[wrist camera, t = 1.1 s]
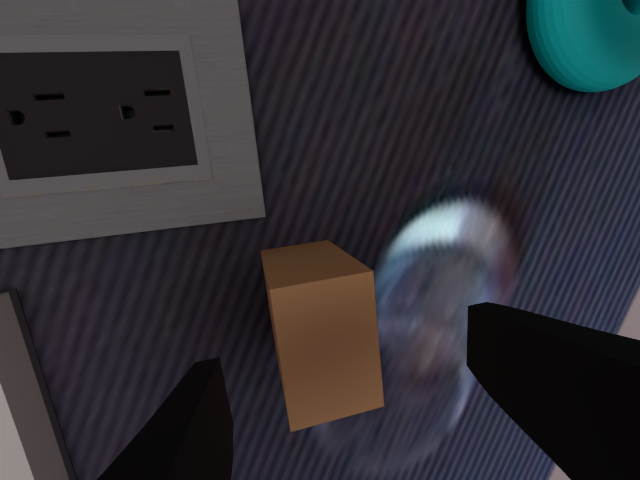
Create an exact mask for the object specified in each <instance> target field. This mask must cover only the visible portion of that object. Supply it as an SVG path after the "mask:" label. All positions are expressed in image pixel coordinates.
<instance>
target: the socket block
mask: <svg viewBox="0 0 640 480" xmlns="http://www.w3.org/2000/svg"><path fill="white" fill-rule="evenodd" d="M0 480H76V477H75V474H74V471H73V468H72V464H71V461H70V458H69V455H68V452H67V449H66V446H65V442H64V439H63V436H62V433H61V430H60V427H59V423H58V420H57V417H56V414H55V411H54V408H53V405H52V401H51V398H50V395H49V392H48V389H47V386H46V383H45V379H44V376H43V373H42V370H41V367H40V364H39V361H38V357H37V354H36V351H35V348H34V345H33V342H32V339H31V335H30V332H29V329H28V326H27V323H26V320H25V317H24V313H23V310H22V307H21V304H20V301H19V298H18V295H17V291H16V289H13V290H7V291H0Z"/></svg>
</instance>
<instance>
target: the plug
mask: <svg viewBox="0 0 640 480" xmlns="http://www.w3.org/2000/svg"><path fill="white" fill-rule="evenodd" d="M261 257H262V263H263V270H264V276H265V283H266V290H267V296H268V303H269V309H270V316H271V323H272V329H273V336H274V343H275V349H276V354H277V360H278V365H279V371H280V376H281V381H282V387H283V392H284V398H285V403H286V409H287V414H288V420H289V425H290V431H291V432H293V431H296V430H300V429H304V428H307V427H311V426H315V425H318V424H322V423H325V422H329V421H333V420H336V419H340V418H344V417H347V416H351V415H355V414H358V413H362V412H365V411H369V410H373V409H376V408H380V407H384V400H383V387H382V375H381V362H380V350H379V337H378V324H377V312H376V299H375V287H374V274H373V270H371V269H370V268H368V267H367V266H365V265H364V264H362V263H361V262H359V261H358V260H356V259H355V258H353V257H352V256H351V255H349V254H348V253H346V252H345V251H343V250H342V249H340V248H339V247H337V246H336V245H334V244H333V243H331V242H330V241H329V240H325V241H319V242H313V243H306V244H300V245H293V246H287V247H280V248H274V249H268V250H261Z"/></svg>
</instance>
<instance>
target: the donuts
mask: <svg viewBox="0 0 640 480" xmlns="http://www.w3.org/2000/svg"><path fill="white" fill-rule="evenodd" d="M526 23H527V31H528V36H529V40H530V44H531V47H532V50H533V52H534V55H535V57H536V59H537V61H538V62H539V64H540V65H541V67H542V68H543V69H544V71H545V72H546V73H547V74H548V75H549V76H550V77H551V78H552V79H553V80H555V81H556V82H557V83H559V84H561V85H562V86H564V87H567V88H569V89H572V90H576V91H580V92H601V91H606V90H610V89H614V88H616V87H619V86H621V85H623V84H625V83H628V82H630V81H631V80H633V79H635V78H636V77H637V76H639V75H640V0H527V4H526Z"/></svg>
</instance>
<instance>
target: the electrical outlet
mask: <svg viewBox="0 0 640 480" xmlns="http://www.w3.org/2000/svg"><path fill="white" fill-rule="evenodd" d="M261 217H266V214H265V207H264V199H263V191H262V184H261V176H260V168H259V161H258V153H257V145H256V138H255V130H254V122H253V115H252V107H251V99H250V92H249V84H248V76H247V69H246V61H245V53H244V46H243V38H242V30H241V23H240V15H239V7H238V0H0V249H2V248H11V247H19V246H27V245H36V244H44V243H52V242H61V241H69V240H78V239H86V238H94V237H103V236H111V235H119V234H128V233H136V232H144V231H153V230H161V229H169V228H178V227H186V226H195V225H203V224H211V223H220V222H228V221H236V220H245V219H253V218H261Z"/></svg>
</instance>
